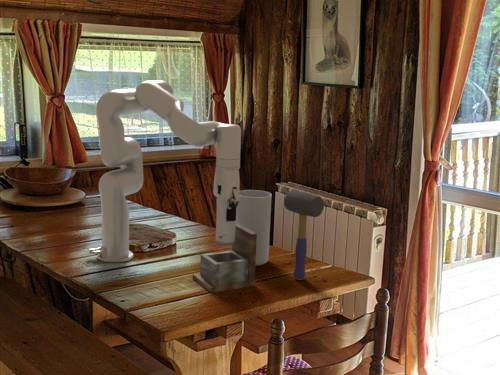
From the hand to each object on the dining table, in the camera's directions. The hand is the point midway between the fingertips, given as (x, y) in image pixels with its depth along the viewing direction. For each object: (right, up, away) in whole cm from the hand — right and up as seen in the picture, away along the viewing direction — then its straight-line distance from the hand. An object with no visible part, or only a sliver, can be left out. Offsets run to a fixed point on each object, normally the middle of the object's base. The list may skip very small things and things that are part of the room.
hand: (226, 217), depth 211 cm
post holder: (-1, -21, +5) cm, 22 cm away
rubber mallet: (+24, -21, +11) cm, 34 cm away
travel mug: (0, -9, +2) cm, 9 cm away
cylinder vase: (+8, -17, +27) cm, 33 cm away
